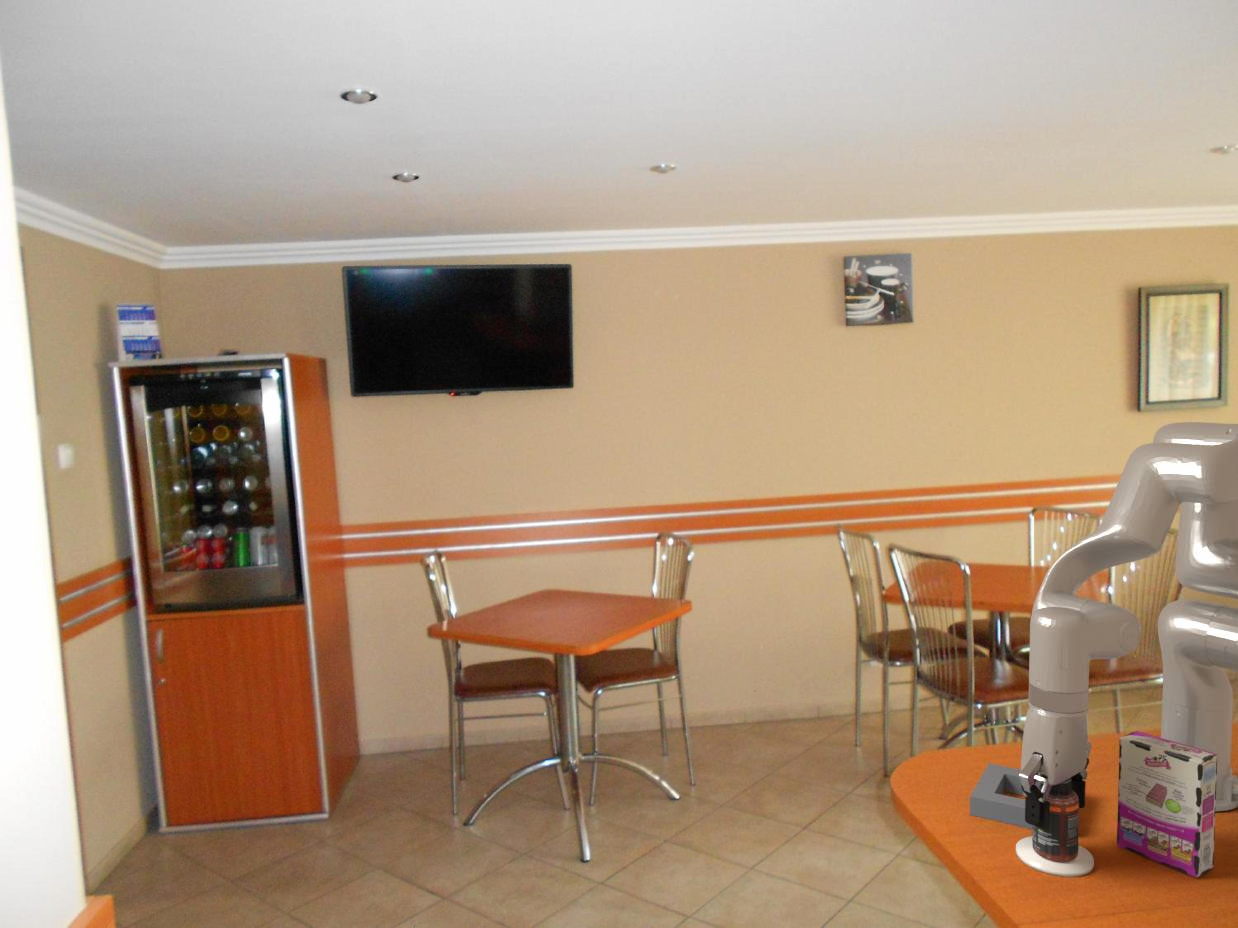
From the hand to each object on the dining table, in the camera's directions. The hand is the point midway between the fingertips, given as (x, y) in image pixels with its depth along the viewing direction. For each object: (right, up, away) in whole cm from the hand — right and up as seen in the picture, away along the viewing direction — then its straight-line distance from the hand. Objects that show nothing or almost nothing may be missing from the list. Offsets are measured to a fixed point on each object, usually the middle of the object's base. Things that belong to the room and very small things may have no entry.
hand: (1055, 814), depth 130 cm
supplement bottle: (0, -6, +1) cm, 6 cm away
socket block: (+3, -5, +16) cm, 16 cm away
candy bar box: (+15, -6, 0) cm, 17 cm away
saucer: (0, -6, +1) cm, 6 cm away
